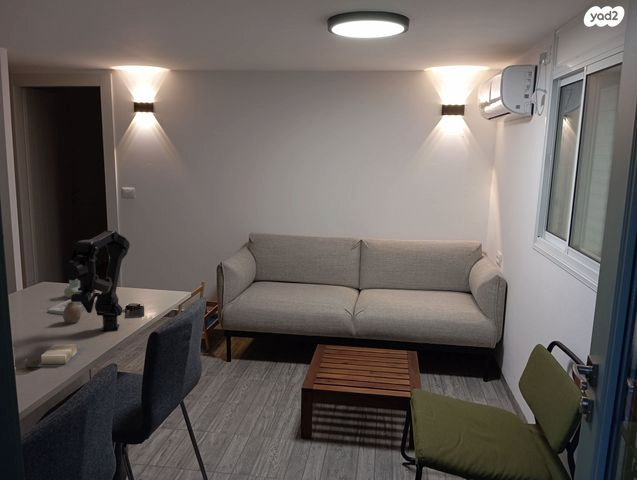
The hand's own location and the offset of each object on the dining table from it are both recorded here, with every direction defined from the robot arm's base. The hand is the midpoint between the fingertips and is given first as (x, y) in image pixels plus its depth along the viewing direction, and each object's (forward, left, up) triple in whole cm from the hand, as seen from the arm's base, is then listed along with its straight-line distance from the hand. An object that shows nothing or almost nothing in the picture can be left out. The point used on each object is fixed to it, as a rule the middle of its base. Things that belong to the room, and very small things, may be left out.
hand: (89, 312), depth 193 cm
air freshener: (-64, -18, -12) cm, 68 cm away
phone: (-34, +13, -13) cm, 39 cm away
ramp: (-45, -12, -13) cm, 48 cm away
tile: (+11, -7, -10) cm, 16 cm away
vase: (-25, -12, -12) cm, 30 cm away
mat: (+14, -7, -12) cm, 20 cm away
